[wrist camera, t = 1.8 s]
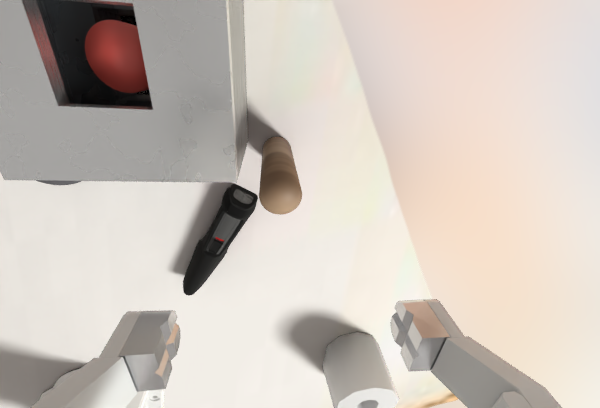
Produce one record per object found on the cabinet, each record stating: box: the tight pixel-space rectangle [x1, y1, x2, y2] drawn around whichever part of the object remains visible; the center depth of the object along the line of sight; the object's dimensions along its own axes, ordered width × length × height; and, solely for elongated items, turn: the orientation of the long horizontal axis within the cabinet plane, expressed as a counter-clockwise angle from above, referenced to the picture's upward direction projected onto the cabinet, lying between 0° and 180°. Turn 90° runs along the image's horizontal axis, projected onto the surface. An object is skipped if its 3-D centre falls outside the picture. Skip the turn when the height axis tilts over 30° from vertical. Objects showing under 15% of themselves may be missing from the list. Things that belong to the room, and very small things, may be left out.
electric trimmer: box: [183, 184, 258, 295], centre depth 32 cm, size 4×16×3 cm, turn 147°
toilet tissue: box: [323, 332, 399, 408], centre depth 44 cm, size 9×13×9 cm
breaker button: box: [85, 20, 149, 93], centre depth 18 cm, size 4×4×3 cm
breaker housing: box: [0, 0, 248, 183], centre depth 19 cm, size 14×14×11 cm
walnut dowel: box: [259, 137, 302, 214], centre depth 24 cm, size 3×3×11 cm
